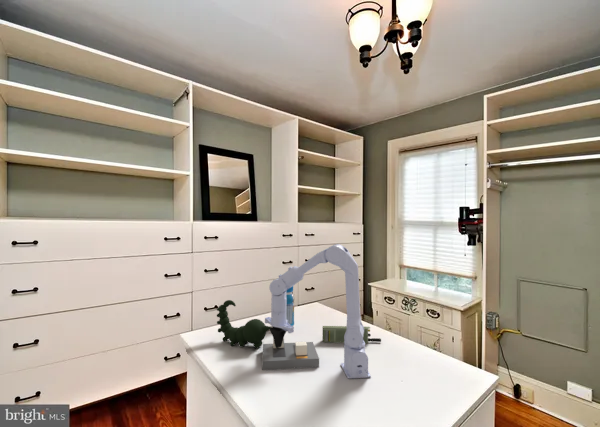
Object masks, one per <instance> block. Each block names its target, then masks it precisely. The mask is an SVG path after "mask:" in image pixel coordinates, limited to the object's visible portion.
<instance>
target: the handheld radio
mask: <svg viewBox="0 0 600 427" xmlns="http://www.w3.org/2000/svg"><path fill="white" fill-rule="evenodd" d="M346 330H347V325H346V326H345V325H322V343H332V344H334V343H335V344H336V343H337V344H338V343H339V344H340V343H341V344H342V343H343V344H344V341H345V340H344V335H345V333H346ZM369 332H371V327H370V326H364V334H363V340H364V342H365V344H369V342H375V343H376V342H377V343H379V342H380V343H381V342H382V338H369V337H371V333H369Z"/></svg>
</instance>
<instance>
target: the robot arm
mask: <svg viewBox="0 0 600 427" xmlns="http://www.w3.org/2000/svg"><path fill="white" fill-rule="evenodd" d="M328 263H330V264H331V265H334V266H336V267H338V268H340V269H341V270H342V271H344V279H345V282H344V283H345V298H346V299H345V302H346V304H345V305H346V326H347V330H346V333H345V335H344V340H345V341H344V343H343V347H344V348H343V362H341V363H340V366H341V368H342V370H343V372H344V374H345V375H346V378H347V379H359V378H360V379H362V378H363V379H364V378H371V377H372V375H371V374H370V372H369V358H368V355H367V352H366V343H365V342H364V340H363V334H364V327H365V326H364V325H363V323H362V316H361V302H360V300H361V299H360V280H359V279H360V278H359V277H360V276H359V264H358V263H357V262H356V260H355V258H354V257H353V255H352V254H351V253H350V251H349V249H348V248H346V247H345V246H344V245H342V244H339V243H336V244H335V243H334V244H333V245H331V246H329V247H328V248H325V249H323V250H321V251H319V252H317V253H316V254H315V255H313V256H312V257H310V258H309V259H308V260H307V261H305V262H304V263H302V264H301V265H299V266H296V265H293V266H289V267H288V268H287V271H285V272H284V273H282V274H280V273H279V275H278V278H276V279H273V280H272V281H271V282H270V284H269V292H270V293H271V305H270V306H271V308H270V309H271V312H270V316H271V317H270V316H267V317H264V324H269V326H270V327H271V328H270V330H269V331H270V333H271V336H272V338H274V342H275V347H276V348H279V347H281V345H282V341H283V338H284V339H285V335H286V333H288V334H292V333H294V332H295V331H294V330H295V327H294V326H291V325H290V324H289V323H288V320H286V303H287V298H286V291H287V290H288V288H291V287H292V286H293V287H294V286H295V285H297V284H299V282H301V281H302V280H303V279H304V275H305V273H307V272H309V271H310V270H312V269H313V268H314V267H317V266H318V265H319V264H328Z"/></svg>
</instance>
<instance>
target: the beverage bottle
mask: <svg viewBox="0 0 600 427" xmlns="http://www.w3.org/2000/svg"><path fill="white" fill-rule="evenodd" d="M293 292H294V286H292V287H291V288H288V290H287V291H286V298H287V303H286V320H288V323H289V324H290V325H291V326H293V327H294V326H295V306H296V305H295V304H296V303H295V296H294V294H293Z"/></svg>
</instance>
